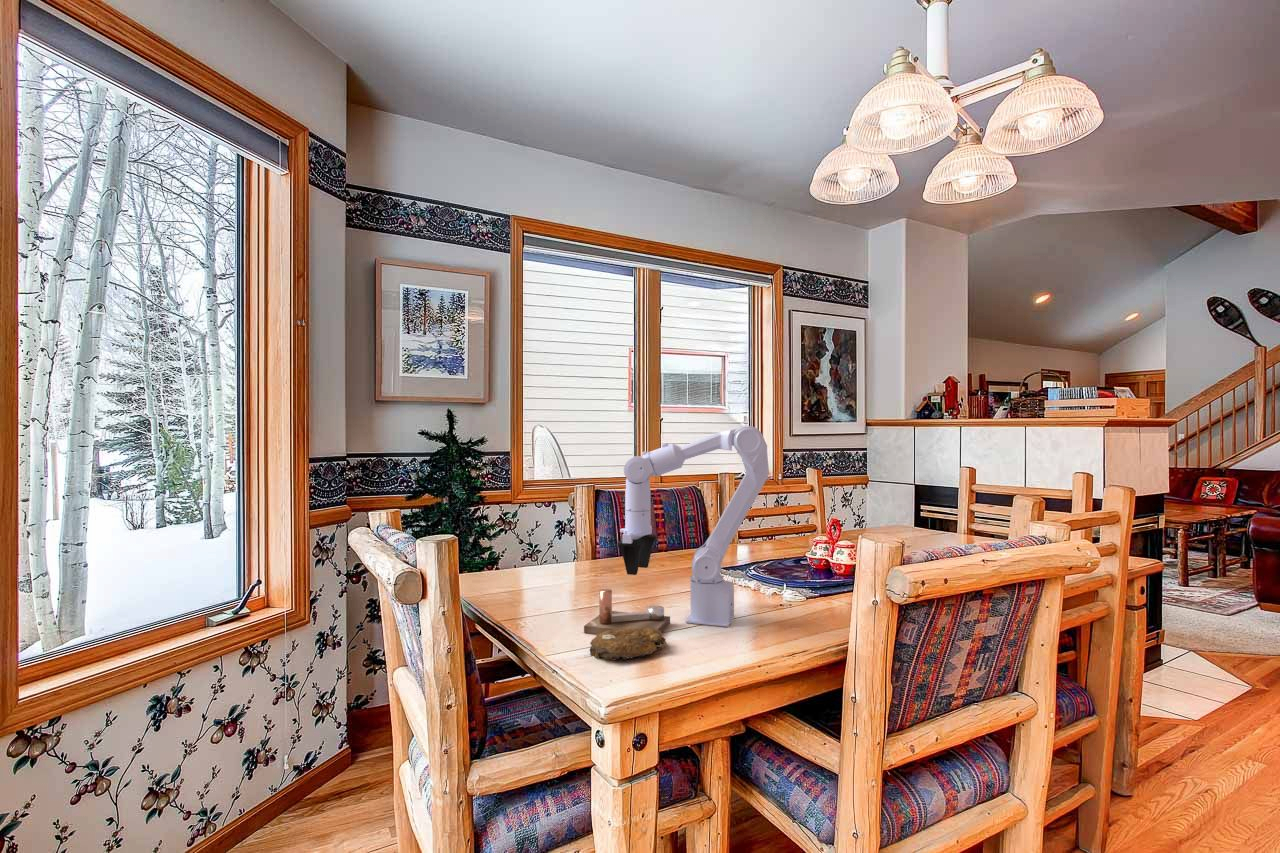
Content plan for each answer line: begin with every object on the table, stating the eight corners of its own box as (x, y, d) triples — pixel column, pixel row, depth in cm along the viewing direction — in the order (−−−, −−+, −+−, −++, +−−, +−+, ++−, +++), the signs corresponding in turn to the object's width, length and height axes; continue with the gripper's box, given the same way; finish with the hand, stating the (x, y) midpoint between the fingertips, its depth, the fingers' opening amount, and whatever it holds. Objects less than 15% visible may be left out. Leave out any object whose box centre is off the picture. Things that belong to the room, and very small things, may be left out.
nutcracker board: (670, 623, 134) (670, 616, 134) (653, 640, 123) (653, 632, 123) (605, 617, 139) (605, 609, 139) (584, 633, 127) (584, 625, 127)
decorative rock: (644, 638, 126) (580, 656, 118) (643, 618, 126) (578, 634, 118) (679, 651, 117) (611, 671, 108) (677, 629, 117) (610, 647, 108)
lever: (660, 614, 135) (660, 584, 135) (666, 618, 131) (666, 588, 131) (597, 619, 131) (597, 588, 131) (601, 624, 127) (601, 592, 127)
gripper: (631, 505, 147) (631, 563, 147) (609, 513, 133) (609, 576, 133) (660, 507, 145) (660, 565, 144) (640, 514, 131) (640, 578, 131)
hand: (637, 570), depth 139 cm, fingers open, 7 cm apart
